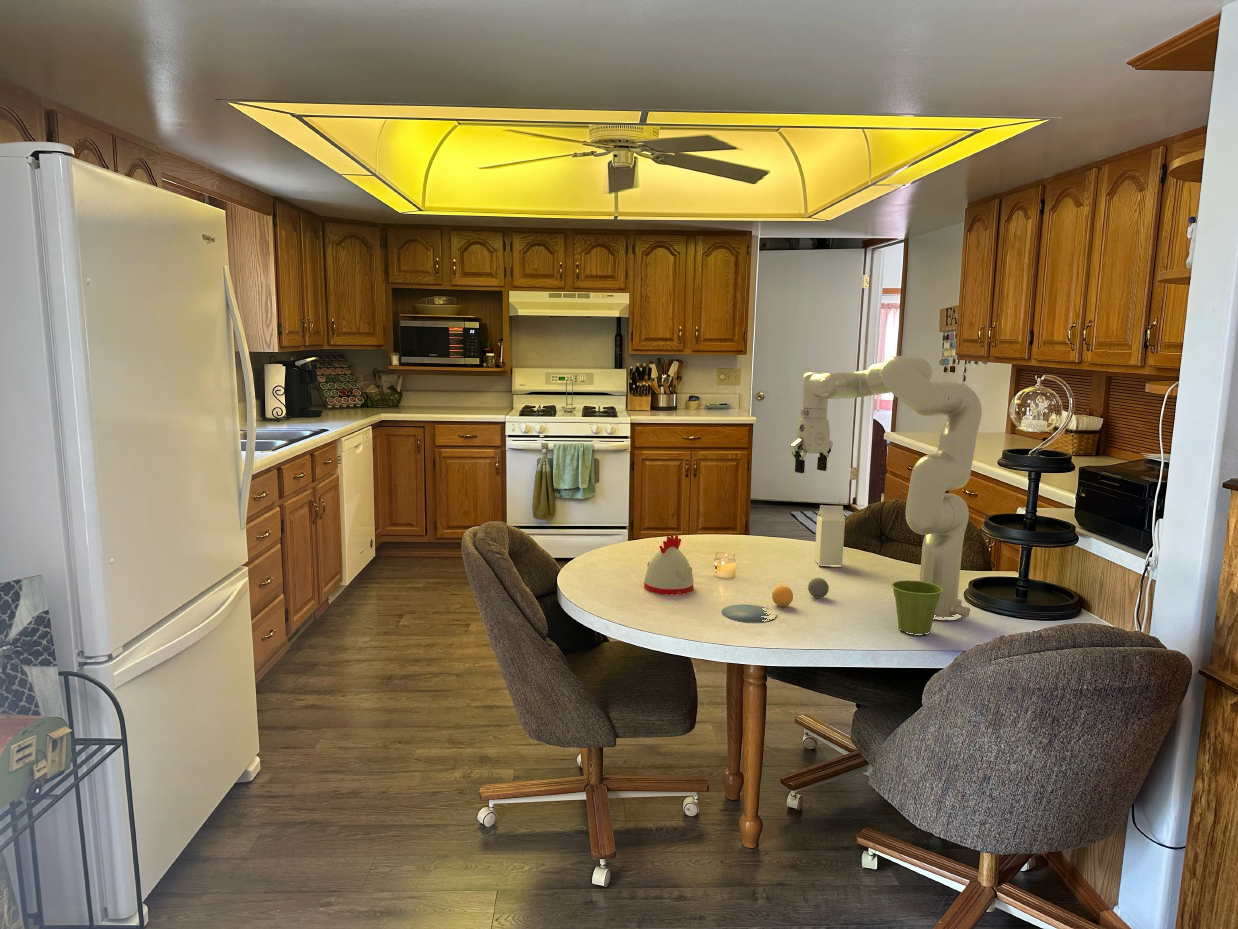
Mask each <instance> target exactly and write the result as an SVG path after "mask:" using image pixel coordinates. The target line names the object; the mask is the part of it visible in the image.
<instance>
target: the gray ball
mask: <svg viewBox="0 0 1238 929" xmlns="http://www.w3.org/2000/svg"><path fill="white" fill-rule="evenodd" d="M807 589H808V590H807V591H808V593H809V594H810V596H812V597H813V598H815V597H819V598H818V599H821V598H820V597H822V598H824V597H825V596H827V594H828V593H829V591H830V590H829V589H830V588H829V584H828V582H827V581H826V580H825V579H824V578H821V577H814V578H812V579H811V580H810V581H809V582H808V585H807Z"/></svg>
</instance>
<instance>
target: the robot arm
mask: <svg viewBox="0 0 1238 929" xmlns="http://www.w3.org/2000/svg"><path fill="white" fill-rule="evenodd" d="M932 376H933V367H932V365H931V363H930V362H929V361H928V360H927V359H926V358H923V357H921V356H915V355H909V356H906V355H898V356H891V357H889V358H887V359H886V360H885V361H882V362H876V363H873V364H871V365H870V366H869V367H868V368H867V370H866V369H864V370H860V371H852V372H821V371H820V372H819V371H808V372H805V373H803V376H802V385H801V386H802V390H801V391H802V392H801V408H800V409H801V410H800V419H799V422H798V426H797V433H796V434H797V435H796V440H795V441H794V442H793V443H791V444H790V449H791V454H792V456H793V459H794V460H795V461H794V462H795V463H794V472H795V473H798V474H804V473H805V470H806V469H805V466H806V460H805V459H804V458H805V457H806V456H807V454H818V456H817V463H816V470H818V471H823V472H826V471H827V470H828V458H829V457H830V453H831V452H832V449H833V446H834V442H833V441H832V440H831V436H830V434H831V433H830V431H831V430H830V421H829V418H828V405H829V404H828V402H829V400H840V399H843V400H844V399H856V398H857V399H858V398H864V397H871V396H875V395H878V396H879V395H884V394H890V393H891V394H893V395H894V396H895V397H896V398H897V399H899V401H901V402H902V404H904V405H906V406H907V408H909V409H910V410H911V411H913V412H914V413H916V414H918V415H920V416H923V417H940V416H946V417H947V420H946V422H945V424H944V425H943V427H942V429H941V432H940V435H939V440H938V445H937V451H936V453H930V454H926V455H924V456H922V457H921V458H920V459H918V460H917V461H916V463H915V464H914V466H913V468H912V470H911V475H910V480H909V486H908V487H909V488H908V493H907V497H906V504H905V520H906V523H907V525H908V527H909V528H910V530H912V531H913V532H915V533H916V534H918V535H923V542H922V547H921V559H920V560H921V561H920V571H919V572H920V573H919V581H923V582H928V583H932V584H936V585H938V586H940V587H942V588H943V592H942V593H940V596H939V600H938V602H937V605H936V609H935V613H934V615H936V616H935V617H942V618H944V617H954V616H952V615H956V614H959V615H961V616H963V617H964V618H968V617H969V616H970V613H971V607H967V606H963V605H962V601H963V600H962V599H959V590H960V588H959V586H960V576H961V575H960V574H961V564H962V554H963V545H964V538H965V533H966V530H967V528H968V527H967V526H968V522H969V517H970V516H969V514H970V512H969V507H968V504H967V502H966V501H965V500H964V499H963V498H962V497H961V496H959V495H957V494H955V493H949V492H947V491H955V490H959V489H961V488H963V487H965V486H966V485H967V483H969V481H970V479H971V478H970V477H971V474H972V473H971V472H972V466H973V462H974V456H975V451H976V450H975V449H976V443H977V437H978V432H979V429H980V428H979V427H980V425H981V420H982V413H983V412H982V403H981V401H980V398H979V396H978V394H977V393H976V392H975V391H974V390H973V389H972V388H971V387H969V385H966V384H964V383H962V382H958V381H957V382H956V381H930V380H931V379H932ZM946 492H947V493H946Z"/></svg>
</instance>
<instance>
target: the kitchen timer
mask: <svg viewBox="0 0 1238 929" xmlns="http://www.w3.org/2000/svg"><path fill="white" fill-rule="evenodd" d="M662 543H663V545H659V551H657V552H656V553H655V554H654V555H653V557H652V558H651V560H650V561H648V562H647V570H646V572H645V575H644V576H645V577H644V583H643V584H644V585H643V588H644V589H645V590H646V591H648V592H651V593H653V592H654V594H657V593H659V595H665V594H667V596H670V594H674V595H673V596H677V595H676V594H679V595H685V594H688V593H687V592H689V593H692V592H693V590H694V577H693V568H692V566H691V565H690V563H689V560H688V559H687V557H686V556H685V555H684V553H683V552H682V551H681V550H679V548H680V545H681V543H682V538H680V537H679V535H677V534H675V535H670V536H669V535H666V540H662ZM684 593H685V594H684Z"/></svg>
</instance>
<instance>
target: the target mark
mask: <svg viewBox="0 0 1238 929" xmlns="http://www.w3.org/2000/svg"><path fill="white" fill-rule="evenodd" d="M762 608H765V606H762V605H756V604H745V603H744V604H732V605H727V606H726V607H723V608H722V609H721V614H722V615H723V616H724V617H725V616H726V617H725V618H727V617H728V618H727V619H729V618H730V619H729V620H732V619H733V621H736V620H737V622H741V621H742V623H749V622H762V623H765V622H764V621H762V620H766V619H767V618H764V617H761V616H769V615H770V614H769V615H768V614H767V613H764V612H767V611H764V610H763V609H762ZM766 614H767V615H766ZM767 620H768V619H767ZM769 620H770V619H769Z"/></svg>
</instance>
